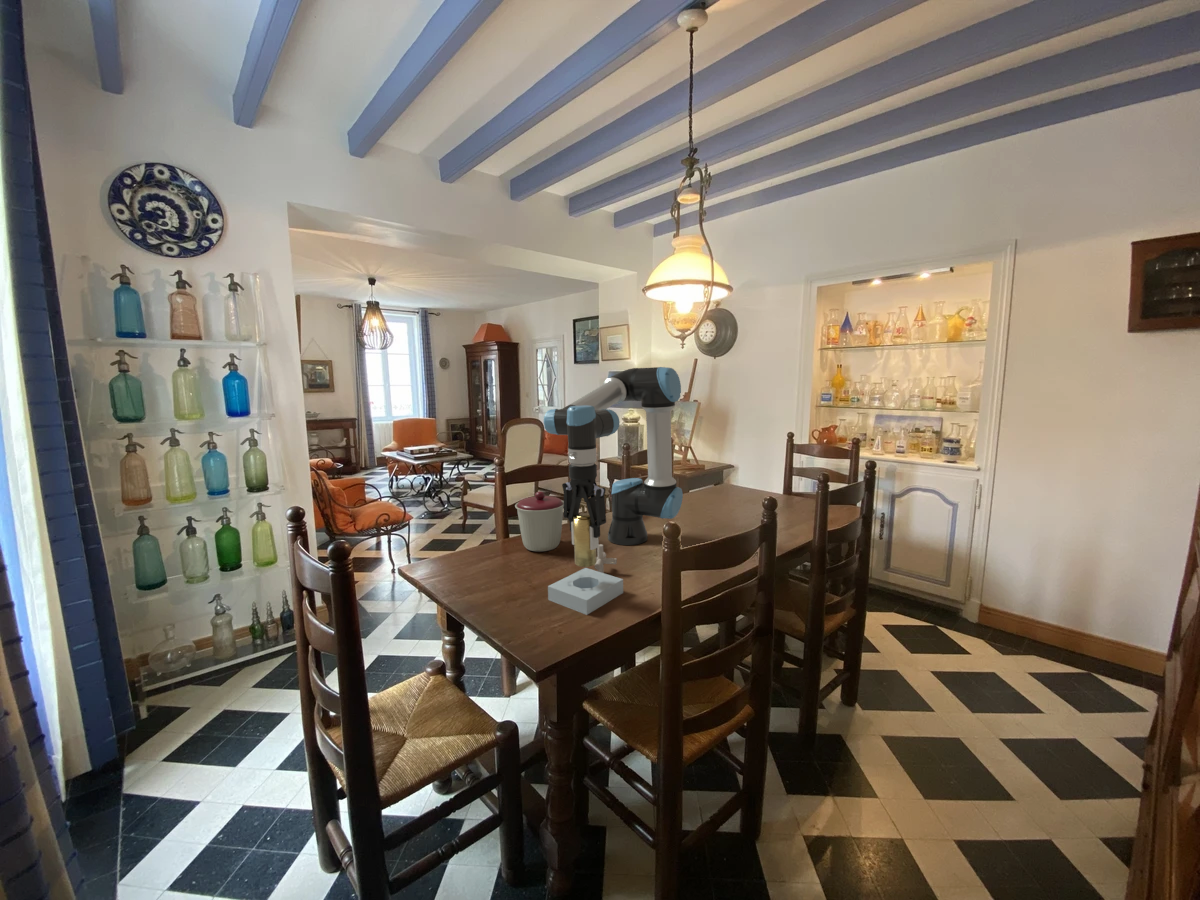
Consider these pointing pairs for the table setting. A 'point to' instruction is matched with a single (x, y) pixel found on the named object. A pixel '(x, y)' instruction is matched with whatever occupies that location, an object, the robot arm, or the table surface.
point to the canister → (540, 521)
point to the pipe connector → (603, 559)
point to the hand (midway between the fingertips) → (585, 545)
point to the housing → (585, 590)
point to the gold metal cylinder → (583, 541)
